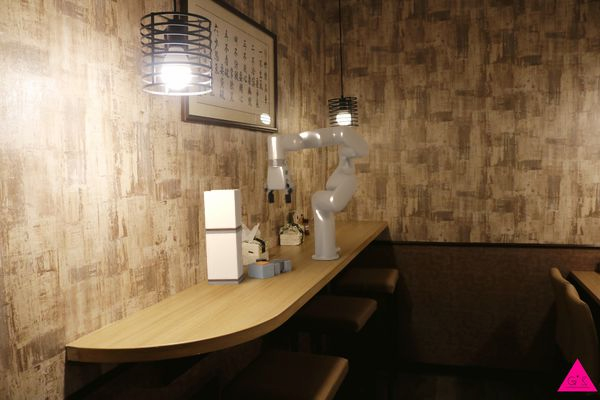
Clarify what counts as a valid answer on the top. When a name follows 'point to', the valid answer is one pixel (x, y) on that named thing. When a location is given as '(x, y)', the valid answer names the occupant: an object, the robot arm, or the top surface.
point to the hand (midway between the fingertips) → (279, 203)
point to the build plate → (261, 260)
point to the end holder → (261, 270)
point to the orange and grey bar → (273, 262)
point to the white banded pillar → (223, 236)
